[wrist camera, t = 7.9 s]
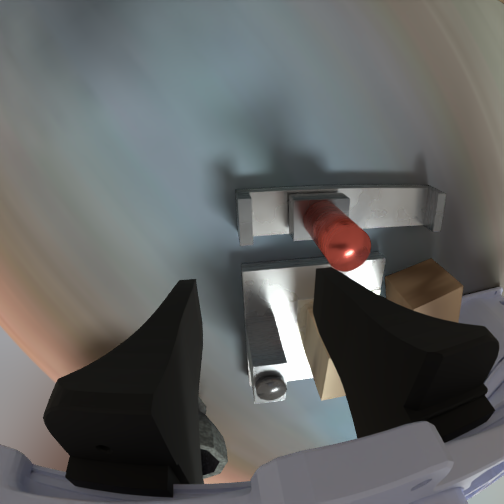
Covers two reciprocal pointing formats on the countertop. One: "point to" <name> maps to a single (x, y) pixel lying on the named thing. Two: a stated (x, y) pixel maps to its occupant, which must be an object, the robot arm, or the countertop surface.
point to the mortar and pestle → (210, 445)
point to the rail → (360, 211)
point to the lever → (329, 228)
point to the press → (286, 318)
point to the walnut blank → (426, 290)
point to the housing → (321, 362)
